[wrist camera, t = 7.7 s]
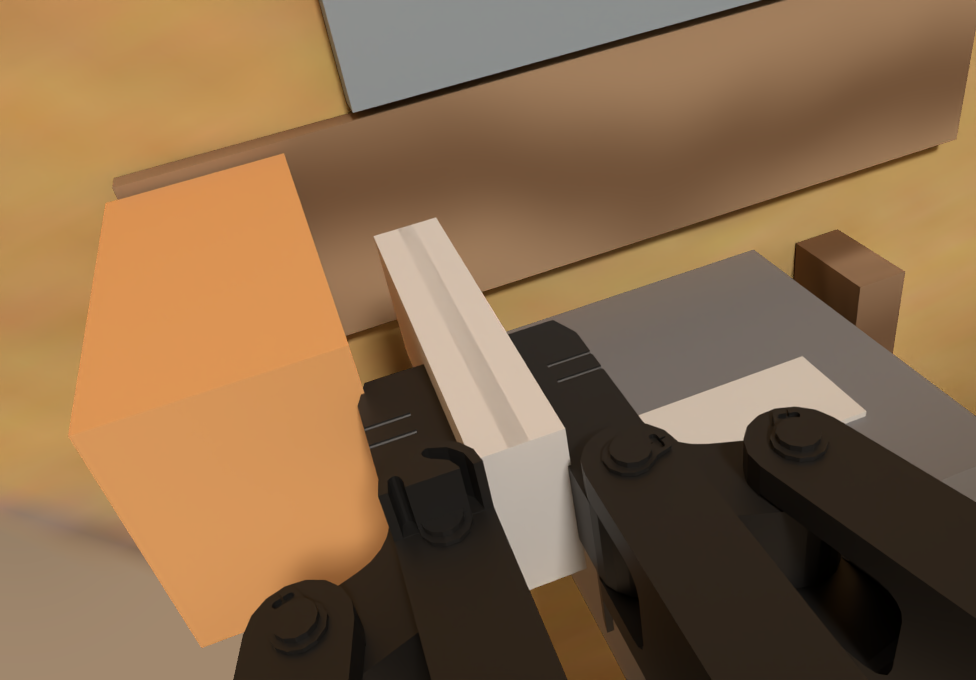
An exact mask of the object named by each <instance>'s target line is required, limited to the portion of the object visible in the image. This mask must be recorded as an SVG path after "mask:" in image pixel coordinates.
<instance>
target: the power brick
mask: <svg viewBox="0 0 976 680" xmlns="http://www.w3.org/2000/svg"><path fill="white" fill-rule="evenodd" d="M550 320H554V321H556V322H558V323H560V324H562V325H564V326H566V327H568V328H570V329H571V330H573V331H575V332H577V334H578V335H579V336H580V338H581V339H582V340H583V342H584V343H585V344H586V346H587V347H588V348H589V350H590V353H591V354H593V355H594V357H595V358H596V359H597V361H598V362H599V363H600V365H601V368H602V369H604V370H605V371H606V373H607V374H608V375H609V377H610V378H611V379H612V381H613V382H614V383H615V385H616V386H617V387H618V389H619V390H620V391H621V393H622V394H623V395H624V397H625V398H626V399H627V401H628V402H629V403H630V405H631V406H632V407H633V409H634V410H635V411H636V413H637V414H638V415H639V417H640V418H641V420H642V421H643V422H644V423H645V424H649V425H652V426H655V427H658V428H661V429H663V430H665V431H666V432H668V433H669V434H670V435H671V436H672V437H674V438H675V439H676V440H677V441H678V442H683V443H689V444H711V443H722V442H733V441H743V439H744V435H745V432H746V428H747V426H748V425H749V424H750V423H751V422H752V421H753V420H754V419H755V418H756V417H757V416H758V415H760V414H762V413H765V412H767V411H770V410H772V409H775V408H784V407H794V406H795V407H802V408H809V409H816V410H818V411H820V412H823V413H825V414H828V415H830V416H832V417H834V418H836V419H838V420H840V421H841V422H843V423H845V424H846V425H848V426H850V427H851V428H853V429H855V430H856V431H858V432H860V433H861V434H863V435H865V436H866V437H868V438H870V439H871V440H873V441H875V442H876V443H878V444H880V445H881V446H883V447H885V448H886V449H888V450H890V451H891V452H893V453H895V454H896V455H898V456H900V457H901V458H903V459H905V460H906V461H908V462H910V463H911V464H913V465H915V466H916V467H918V468H920V469H921V470H923V471H925V472H926V473H928V474H930V475H931V476H933V477H935V478H936V479H938V480H940V481H942V482H943V483H945V484H947V485H948V486H950V487H952V488H953V489H955V490H957V491H958V492H960V493H962V494H963V495H965V496H967V497H968V498H970V499H972V500H973V501H975V502H976V416H975V415H974V414H972V413H971V412H970V411H968V410H967V409H966V408H964V407H963V406H962V405H960V404H959V403H958V402H956V401H955V400H954V399H952V398H951V397H950V396H948V395H947V394H946V393H944V392H943V391H942V390H940V389H939V388H938V387H936V386H935V385H933V384H932V383H931V382H929V381H928V380H927V379H925V378H924V377H923V376H921V375H920V374H919V373H917V372H916V371H915V370H913V369H912V368H911V367H909V366H908V365H907V364H905V363H904V362H903V361H901V360H900V359H899V358H897V357H896V356H895V355H893V354H892V353H891V352H889V351H888V350H887V349H885V348H884V347H883V346H881V345H880V344H879V343H877V342H876V341H875V340H873V339H872V338H871V337H869V336H868V335H867V334H865V333H864V332H863V331H861V330H860V329H859V328H857V327H856V326H855V325H853V324H852V323H851V322H849V321H848V320H847V319H845V318H844V317H843V316H841V315H840V314H839V313H837V312H836V311H835V310H833V309H832V308H831V307H829V306H828V305H827V304H825V303H824V302H823V301H821V300H820V299H819V298H817V297H816V296H815V295H813V294H812V293H811V292H809V291H808V290H807V289H805V288H804V287H803V286H801V285H800V284H799V283H797V282H796V281H795V280H793V279H792V278H791V277H789V276H788V275H787V274H785V273H784V272H783V271H781V270H780V269H779V268H777V267H776V266H775V265H773V264H772V263H771V262H769V261H768V260H767V259H765V258H764V257H763V256H761V255H760V254H759V253H757V252H756V251H755V250H751V251H748V252H745V253H742V254H739V255H736V256H733V257H730V258H727V259H724V260H721V261H718V262H715V263H712V264H709V265H706V266H703V267H700V268H697V269H694V270H691V271H688V272H685V273H682V274H679V275H676V276H673V277H670V278H667V279H664V280H661V281H658V282H655V283H652V284H649V285H646V286H643V287H640V288H637V289H634V290H631V291H628V292H625V293H622V294H619V295H616V296H613V297H610V298H607V299H604V300H601V301H598V302H595V303H592V304H589V305H586V306H583V307H580V308H577V309H574V310H571V311H568V312H565V313H562V314H559V315H555V316H552V317H549V318H546V319H543V320H540V321H537V322H534V323H531V324H528V325H525V326H522V327H519V328H516V329H513V330H510V331H507V332H506V333H507V334H510V333H513V332H517V331H520V330H523V329H526V328H529V327H532V326H535V325H538V324H541V323H544V322H547V321H550ZM584 553H585V560H586V566H587V569H584V570H581V571H579V572H576V573H573V574H571V575H572V577H573V579H574V581H575V583H576V585H577V587H578V589H579V591H580V592H581V594H582V596H583V598H584V600H585V602H586V604H587V606H588V608H589V609H590V611H591V613H592V615H593V617H594V619H595V621H596V623H597V625H598V627H599V628H600V630H601V632H602V634H603V636H604V638H605V640H606V642H607V644H608V645H609V647H610V649H611V651H612V653H613V655H614V657H615V659H616V661H617V663H618V664H619V666H620V668H621V670H622V672H623V674H624V676H625V678H626V680H646V679H645V677H644V675H643V674H642V672H641V670H640V668H639V666H638V664H637V662H636V661H635V659H634V657H633V655H632V653H631V651H630V650H629V648H628V646H627V644H626V642H625V640H624V638H623V637H622V635H621V633H620V631H619V629H618V627H617V626H616V624H615V622H614V620H613V623H614V630H613V631H611V632H608V633H607V630H606V626H605V623H604V619H603V613H602V606H601V599H600V592H599V585H598V578H597V571H596V569H595V567H594V565H593V563H592V561H591V560H590V558H589V556H588V554H587V552H586V550H585V548H584Z"/></svg>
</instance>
